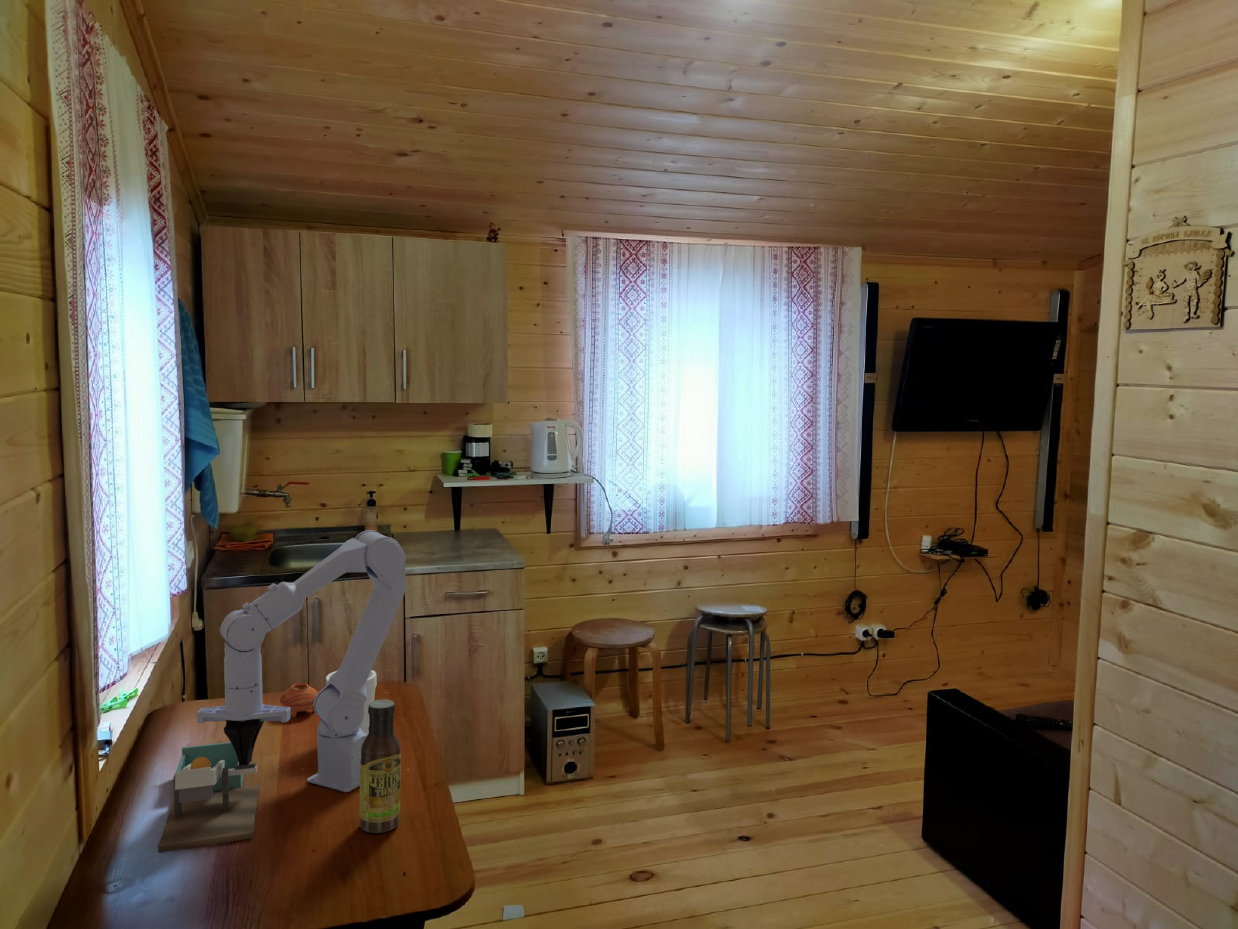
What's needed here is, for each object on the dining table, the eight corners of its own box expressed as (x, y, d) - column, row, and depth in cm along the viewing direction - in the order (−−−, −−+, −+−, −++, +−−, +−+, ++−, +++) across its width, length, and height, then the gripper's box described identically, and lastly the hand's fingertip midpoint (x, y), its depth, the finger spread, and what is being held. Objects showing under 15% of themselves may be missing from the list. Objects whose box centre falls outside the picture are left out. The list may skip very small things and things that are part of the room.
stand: (252, 839, 136) (251, 791, 135) (158, 852, 131) (156, 803, 131) (259, 791, 152) (257, 748, 151) (174, 801, 147) (173, 757, 147)
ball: (214, 763, 140) (216, 766, 143) (200, 751, 141) (202, 754, 143) (199, 779, 139) (201, 782, 141) (184, 767, 139) (187, 770, 142)
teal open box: (241, 791, 151) (240, 763, 151) (174, 799, 148) (174, 770, 148) (245, 767, 161) (244, 740, 161) (183, 774, 158) (182, 747, 157)
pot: (318, 702, 194) (319, 675, 192) (319, 723, 187) (320, 695, 185) (279, 705, 191) (279, 677, 189) (279, 726, 184) (279, 698, 182)
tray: (251, 794, 136) (251, 762, 137) (174, 803, 133) (175, 771, 133) (257, 781, 151) (257, 753, 152) (189, 790, 147) (189, 761, 148)
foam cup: (368, 750, 169) (367, 684, 168) (320, 749, 169) (319, 683, 168) (382, 731, 178) (381, 668, 177) (337, 730, 179) (336, 667, 177)
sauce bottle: (368, 840, 136) (366, 714, 134) (353, 824, 141) (351, 702, 139) (407, 828, 140) (406, 705, 138) (392, 812, 144) (390, 694, 143)
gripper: (295, 675, 151) (296, 752, 152) (207, 676, 150) (209, 753, 151) (282, 689, 144) (284, 770, 145) (190, 690, 143) (193, 771, 144)
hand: (245, 763), depth 148 cm, fingers closed, pressing on tray
